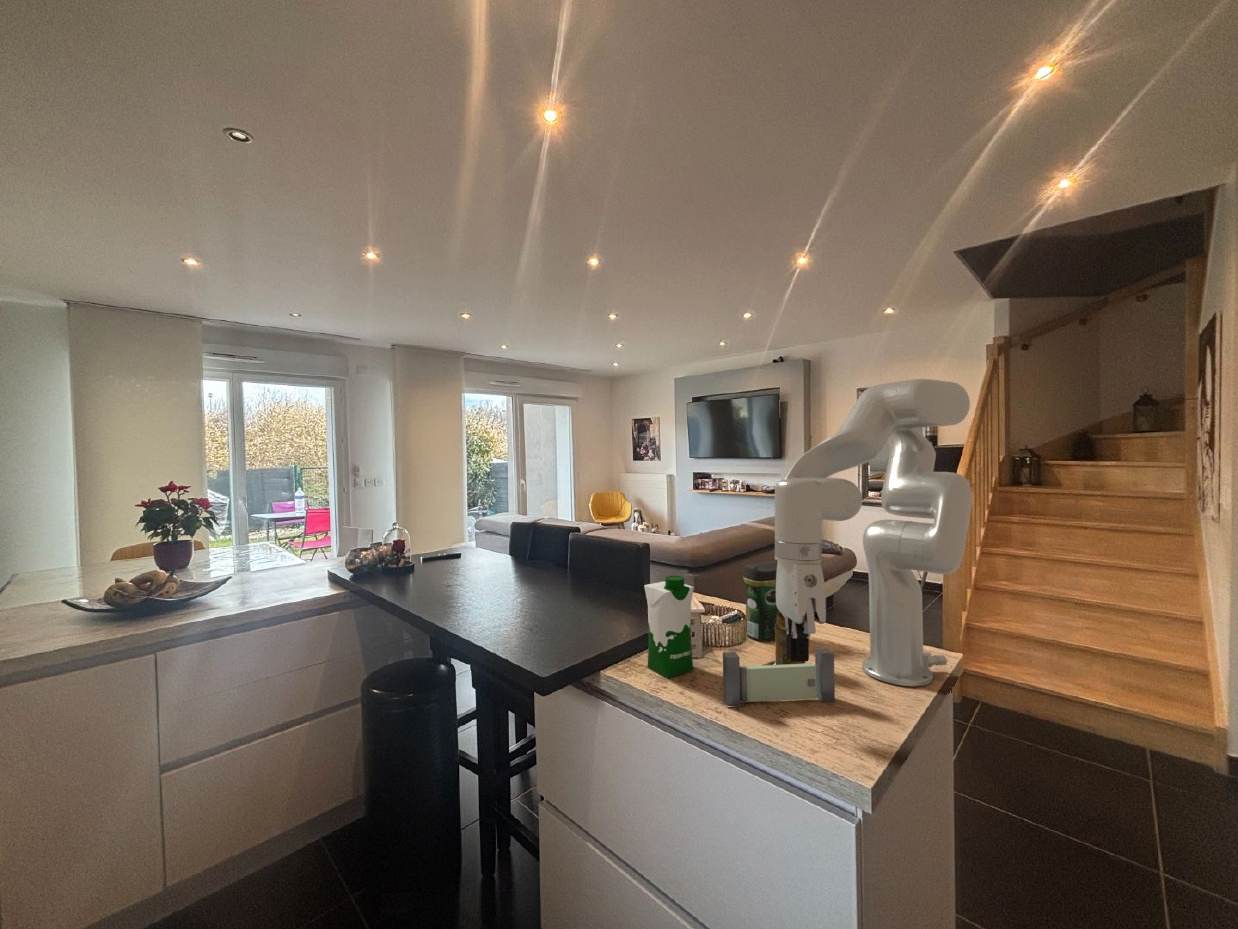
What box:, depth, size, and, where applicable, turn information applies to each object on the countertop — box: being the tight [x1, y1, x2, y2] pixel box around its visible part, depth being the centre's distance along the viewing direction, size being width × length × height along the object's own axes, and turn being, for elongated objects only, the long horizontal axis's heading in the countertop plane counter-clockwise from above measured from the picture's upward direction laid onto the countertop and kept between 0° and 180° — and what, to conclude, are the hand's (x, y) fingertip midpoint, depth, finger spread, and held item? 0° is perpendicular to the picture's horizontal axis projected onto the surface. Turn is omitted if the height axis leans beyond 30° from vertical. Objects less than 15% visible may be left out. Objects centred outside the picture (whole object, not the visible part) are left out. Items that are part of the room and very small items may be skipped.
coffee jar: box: [742, 561, 779, 642], centre depth 122 cm, size 10×8×19 cm
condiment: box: [760, 610, 806, 666], centre depth 103 cm, size 7×8×12 cm
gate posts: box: [722, 647, 836, 707], centre depth 89 cm, size 20×2×9 cm, turn 93°
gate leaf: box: [740, 662, 818, 703], centre depth 89 cm, size 2×14×6 cm, turn 94°
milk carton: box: [643, 575, 695, 680], centre depth 104 cm, size 9×9×20 cm
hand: (797, 659), depth 82 cm, fingers closed
